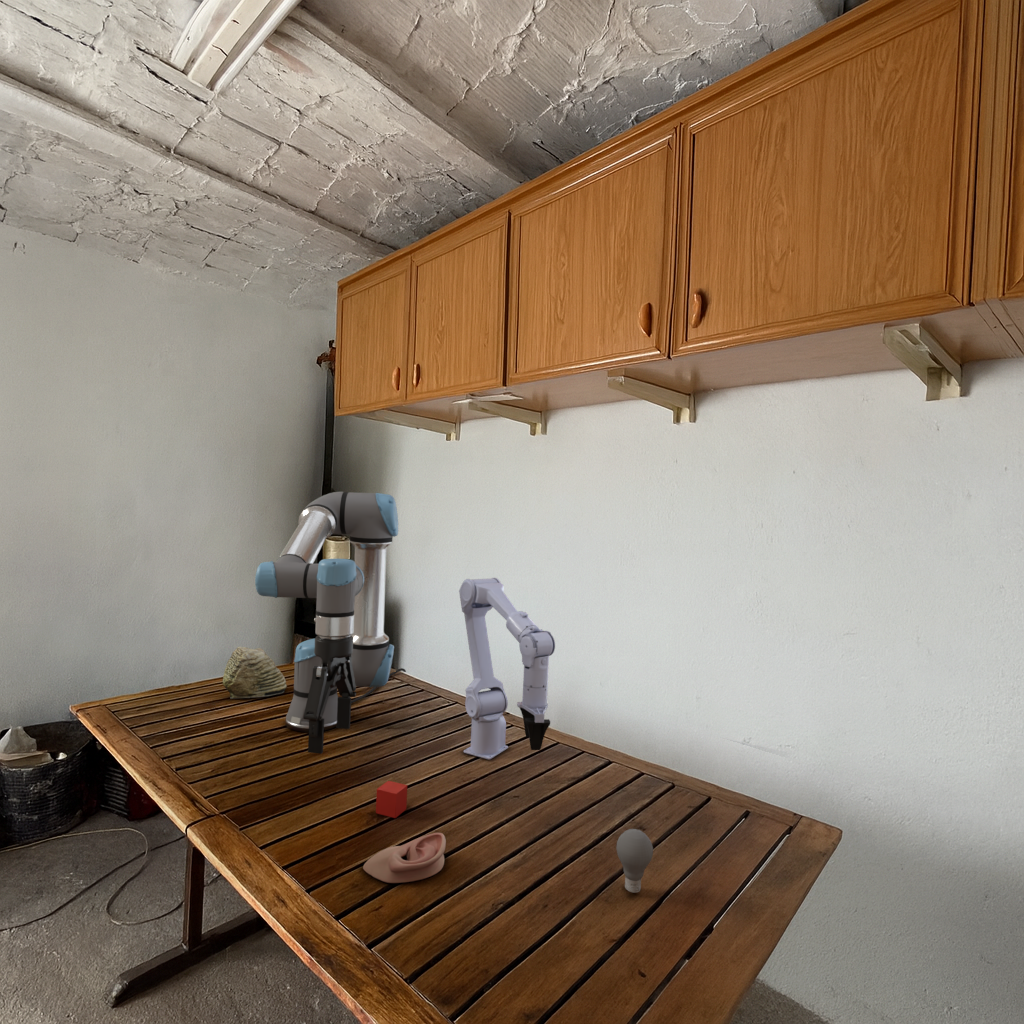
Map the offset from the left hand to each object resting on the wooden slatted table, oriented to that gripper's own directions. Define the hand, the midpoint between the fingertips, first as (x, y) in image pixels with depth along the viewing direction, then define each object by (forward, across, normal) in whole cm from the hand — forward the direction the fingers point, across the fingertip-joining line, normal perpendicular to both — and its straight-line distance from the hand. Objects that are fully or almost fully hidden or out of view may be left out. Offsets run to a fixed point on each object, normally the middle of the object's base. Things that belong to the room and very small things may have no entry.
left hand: (330, 739), depth 129 cm
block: (+14, -2, +13) cm, 19 cm away
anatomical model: (+14, +16, +21) cm, 30 cm away
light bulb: (+14, +15, +60) cm, 64 cm away
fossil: (+14, -63, -52) cm, 83 cm away
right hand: (+5, -23, +39) cm, 46 cm away
